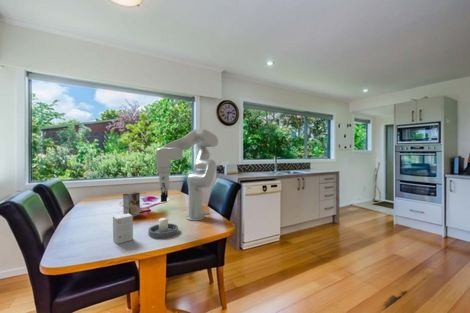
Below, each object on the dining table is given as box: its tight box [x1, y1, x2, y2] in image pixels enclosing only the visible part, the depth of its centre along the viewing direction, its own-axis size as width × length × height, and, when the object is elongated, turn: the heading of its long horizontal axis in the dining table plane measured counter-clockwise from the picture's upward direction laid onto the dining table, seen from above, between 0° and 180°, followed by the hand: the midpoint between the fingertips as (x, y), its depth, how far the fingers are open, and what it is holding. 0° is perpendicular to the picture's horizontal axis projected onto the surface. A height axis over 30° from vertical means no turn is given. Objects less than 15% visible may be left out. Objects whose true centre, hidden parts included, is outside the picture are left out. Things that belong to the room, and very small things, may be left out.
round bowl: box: [147, 222, 179, 240], centre depth 130 cm, size 16×16×3 cm
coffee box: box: [122, 191, 141, 217], centre depth 162 cm, size 9×6×16 cm
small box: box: [112, 213, 134, 245], centre depth 119 cm, size 8×6×13 cm
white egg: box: [158, 217, 169, 233], centre depth 130 cm, size 5×5×7 cm
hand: (164, 199), depth 130 cm, fingers open, 9 cm apart
